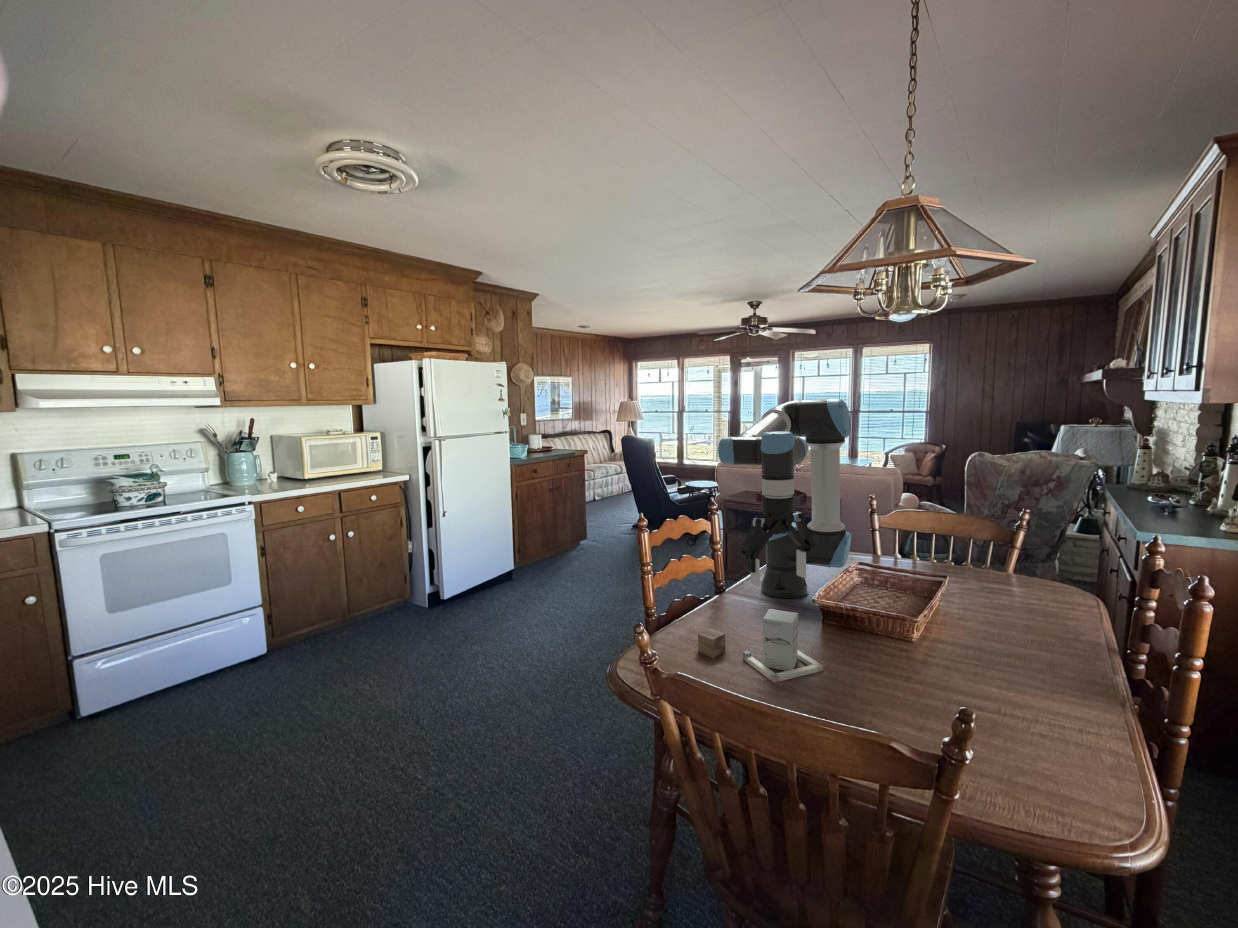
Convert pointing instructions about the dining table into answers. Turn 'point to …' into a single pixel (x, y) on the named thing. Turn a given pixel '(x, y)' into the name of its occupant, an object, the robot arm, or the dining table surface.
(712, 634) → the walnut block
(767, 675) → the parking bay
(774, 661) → the supplement box
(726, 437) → the robot arm
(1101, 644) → the dining table surface
